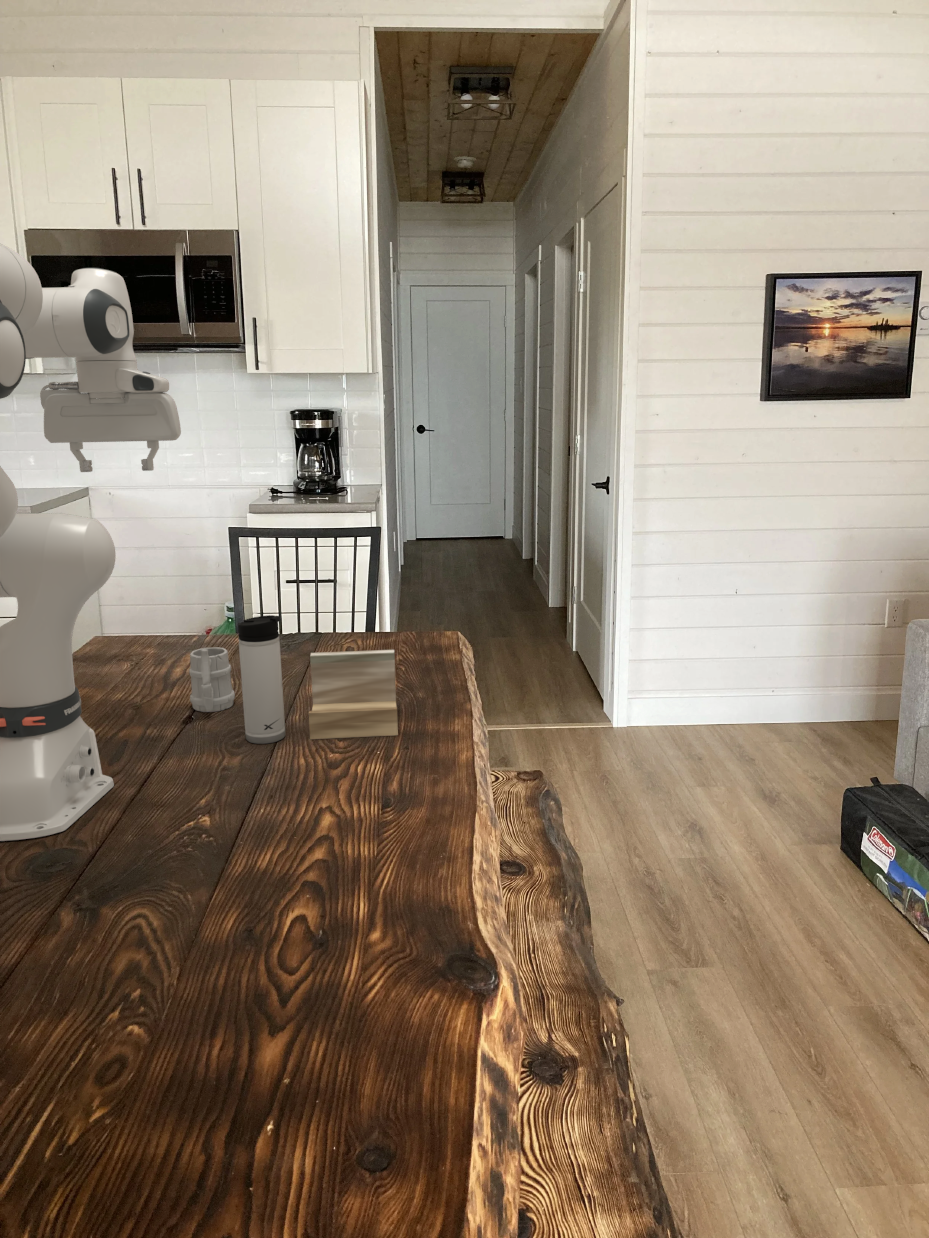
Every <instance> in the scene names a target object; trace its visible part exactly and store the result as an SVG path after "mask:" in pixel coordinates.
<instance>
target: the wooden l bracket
mask: <svg viewBox="0 0 929 1238" xmlns="http://www.w3.org/2000/svg"><path fill="white" fill-rule="evenodd" d="M395 659H396V657H395V649H379V650H378V649H377V650H375V649H374V650H373V649H372V650H355V651H354V650H352V651H327V652H326V651H323V652H310V656H309V661H310V663H309V664H310V674H311V676H310V677H311V691H312V692H311V693H312V694H311V695H312V709H311V710H309V711H308V725H309V739H310V740H322V739H323V740H324V739H343V738H344V739H346V738H363V737H384V736H385V737H387V736H390V737H391V736H399V731H398V729H399V728H398V726H399V725H398V722H399V721H398V706H397V696H396V695H397V693H396V692H397V690H396V661H395Z"/></svg>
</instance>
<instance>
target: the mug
mask: <svg viewBox="0 0 929 1238" xmlns="http://www.w3.org/2000/svg"><path fill="white" fill-rule="evenodd" d="M189 659H190V661H189V662H190V663H189V664H190V667H189V669H188V671H189V675H190V682H191V693H190V695H189V701H190V703H191V704H192V705H191V706H192V709H193V710H195V711H198V712H202V713H213V712H214V713H215V712H220V711H224V710H227V709H229V708H231V707H233V705H234V700H235V698H236V697H235V696H236V695H235V691H234V689H233V687H232V677H231V672H232V665H231V664H230V661H229V651H228V650H227V649H226V648H224V647H220V646H219V647H218V646H217V647H203V648H202V647H201V648H198V649H194V650H193V651H191V652H190V654H189Z"/></svg>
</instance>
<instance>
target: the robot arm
mask: <svg viewBox="0 0 929 1238" xmlns="http://www.w3.org/2000/svg"><path fill="white" fill-rule="evenodd" d="M70 279H71V280H70V285H68V286H64V287H61V286H60V287H42V284H41V280H40V278H39V275H38V273H37V272H36V270H35V268H34V267H33V266H32V264H31V263H30V262H29V261H28V260H27V259H26V258H25V257H24V256H22V255H21V254H20V253H18V252H17V251H15V250H14V249H12V248H10V247H8V246H7V245H6V244H2V243H0V400H1V399H5V398H7V397H9V396H10V395H11V394H12V393H13V391H15V389H16V388H17V387H18V385H19V384H20V383H21V381H22V378H23V376H24V372H25V368H26V360H30V359H41V358H43V359H45V358H49V359H51V358H75V365H76V374H77V376H76V377H77V381H64V382H57V381H51V382H48V384H47V385H44V386H43V387H42V388H41V389H40V395H39V396H40V404H41V407H42V409H43V434H44V438H45V439H46V440H47V441H48V442H49V443H50V444H59V443H61V444H63V443H64V444H65V443H67V444H68V443H69V449H70V452H71V453H72V455H73V456H74V457H75V458H76V460H77V461H78V464H79V471H80V473H91V472H93V466H92V465H93V462H92V459H86V458H85V456H84V454H83V453H82V451H81V450H83V449H84V444H83V443H117V442H119V443H120V442H121V443H122V442H146V447H147V449H150V450H149V453H148V455H147V457H146V458H143V459H140V462H141V470H142V471H145V472H148V471H149V472H150V471H154V468H155V467H154V459H155V457H156V455H157V453H158V451H159V449H160V443H159V442H161V441H162V442H165V441H167V442H168V441H176V440H178V439H179V438H180V436H181V434H182V430H181V429H182V428H181V422H180V420H181V419H180V415H179V411H178V407H177V405H176V401H175V399H174V397H173V396H172V395H170V394H169V393H167V392H169V390H170V383H169V380H168V379H167V378H164V377H163V376H158V375H155V374H151V372H147V371H141V370H139V369H138V364H137V363H138V362H137V356H136V354H135V351H134V347H133V340H134V333H135V330H134V322H133V321H134V320H133V314H132V313H133V312H132V307H131V302H130V296H129V292H128V289H127V285H126V282H125V280H124V277H123V276H121V275H120V274H119V273H117V272H116V271H113V270H109V269H104V268H102V267H101V268H100V267H82V268H79V269H75V270H74V271H73V272H72V273H71V278H70ZM1 466H2V465H0V598H16V600H17V613H16V616H15V618H14V619H12V620H10V621H8V622H6V623H4V624H2V625H0V842H5V841H6V842H7V841H19V840H26V839H35V838H42V837H46V836H50V835H54V834H58V833H61V832H64V831H66V830H67V829H69V827H70V826H72V825H73V824H74V823H75V822H77V821H78V819H79V818H80V817H82V816H83V815H84V814H85V813H86V812H88V811H89V809H90V808H92V807H93V805H95V804H97V802H98V801H99V800H100V799H101V798H103V796H105V795H106V794H107V793H108V792H109V791H110V790H111V789H112V788H114V786H115V784H114V780H113V778H112V777H111V776H109V775H105V774H103V771H102V770H103V769H102V765H101V759H100V755H99V749H98V743H97V738H96V733H95V730H94V729H93V728H91V727H90V726H89V725H87V723H86V722H85V721H84V720H83V718H82V717H81V715H82V700H81V696H80V692H79V688H78V687H77V686H76V685H75V684H76V683H75V673H74V664H73V662H74V661H73V634H74V633H73V632H74V629H75V625H76V621H77V619H78V616H79V614H80V612H81V610H82V609H83V607H84V605H85V604H86V602H88V600H89V599H90V598H91V597H92V596H93V595H94V594H96V592H98V591H99V590H100V589H101V588H103V587H104V586H105V584H107V582H108V581H109V579H110V577H111V575H112V573H113V571H114V569H115V565H116V559H117V558H116V554H117V553H116V546H115V543H114V540H113V538H112V536H111V534H110V533H109V531H108V530H107V528H106V527H105V526H104V525H103V523H101V522H100V521H99V520H98V519H96V518H92V517H87V516H82V515H76V514H69V513H63V512H47V513H45V512H44V513H42V512H41V513H39V512H38V513H37V512H36V513H17V512H18V507H19V499H18V492H17V489H16V486H15V483H14V482H13V481H12V480H11V479H12V478H10V477H9V476H8V474H7V473H6V472H5V470H4V469H3V467H1Z"/></svg>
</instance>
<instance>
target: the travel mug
mask: <svg viewBox="0 0 929 1238" xmlns="http://www.w3.org/2000/svg"><path fill="white" fill-rule="evenodd" d="M280 621H281V616H279V615H271V614H269V615H259V616H254V617H250V618H246V619H243V621H242V622H238V624H237V628H238V629H237V632H238V633H237V634H238V638H237V639H238V650H239V651H238V652H239V663H240V664H239V665H240V677H241V680H240V681H241V692H242V705H243V707H242V708H243V718H244V729H245V730H244V731H245V733H244V735H245V739H246V741H248V742H249V743H251V744H255V745H266V744H272V743H273V744H274V743H277V742H278V741H281V740H282V739H284V738H285V736H286V726H285V725H286V723H285V720H286V719H285V707H284V692H283V690H284V689H283V675H282V674H283V673H282V660H281V643H280V634H279V622H280Z"/></svg>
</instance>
